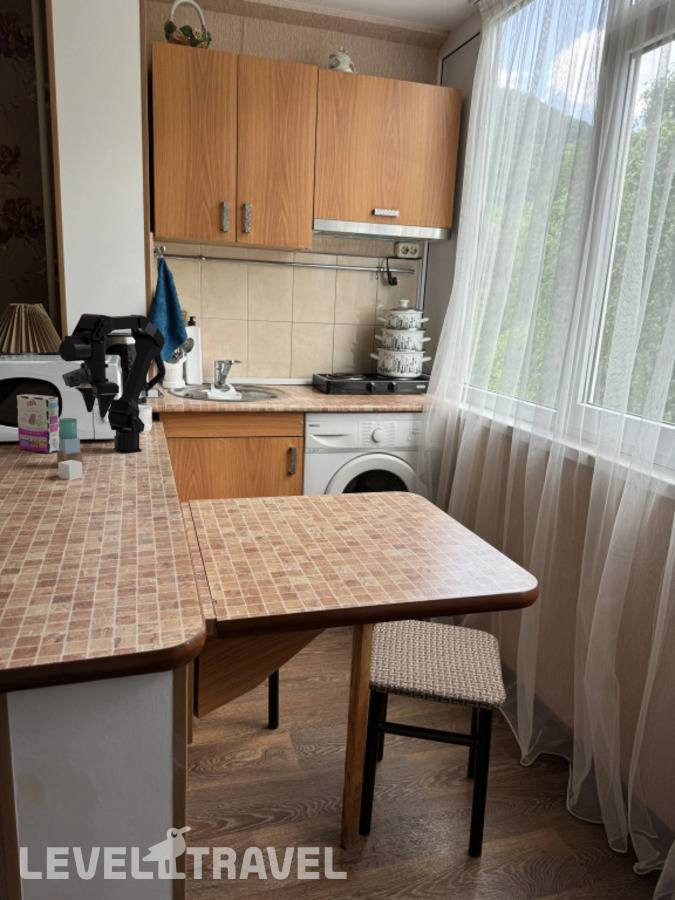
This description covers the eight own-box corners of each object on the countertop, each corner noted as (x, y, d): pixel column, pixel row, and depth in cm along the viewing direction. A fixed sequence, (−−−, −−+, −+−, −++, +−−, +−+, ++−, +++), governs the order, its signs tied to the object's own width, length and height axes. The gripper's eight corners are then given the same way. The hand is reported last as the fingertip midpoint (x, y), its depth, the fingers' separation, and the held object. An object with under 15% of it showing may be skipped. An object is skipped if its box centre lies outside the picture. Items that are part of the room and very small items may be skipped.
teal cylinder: (73, 435, 178) (73, 417, 177) (79, 438, 175) (79, 420, 174) (57, 436, 176) (56, 418, 174) (63, 439, 172) (62, 421, 171)
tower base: (75, 462, 181) (75, 448, 180) (82, 466, 177) (82, 452, 176) (57, 464, 177) (56, 450, 177) (64, 468, 174) (64, 454, 173)
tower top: (74, 449, 179) (73, 435, 178) (80, 452, 176) (79, 438, 175) (59, 451, 176) (59, 436, 176) (65, 453, 174) (64, 439, 173)
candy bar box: (61, 450, 192) (59, 396, 189) (49, 454, 188) (47, 398, 184) (30, 446, 196) (28, 393, 192) (18, 449, 191) (15, 394, 187)
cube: (71, 474, 169) (71, 459, 168) (82, 477, 167) (82, 462, 166) (58, 477, 165) (58, 462, 164) (69, 480, 163) (69, 465, 163)
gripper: (53, 356, 180) (55, 411, 184) (78, 363, 167) (80, 422, 171) (92, 356, 188) (93, 409, 191) (119, 363, 175) (120, 419, 178)
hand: (95, 414), depth 183 cm, fingers open, 9 cm apart
